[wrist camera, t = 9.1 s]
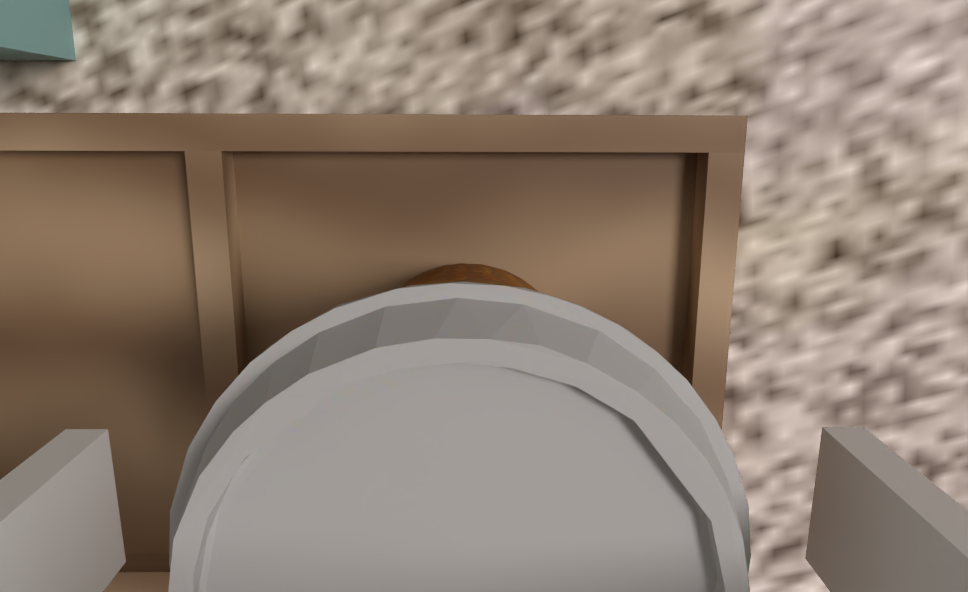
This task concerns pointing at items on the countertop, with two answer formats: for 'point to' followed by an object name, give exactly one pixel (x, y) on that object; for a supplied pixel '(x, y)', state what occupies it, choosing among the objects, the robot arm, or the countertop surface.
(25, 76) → the countertop surface
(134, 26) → the countertop surface
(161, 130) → the divided compartment tray
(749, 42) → the countertop surface
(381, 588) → the disposable coffee cup
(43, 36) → the teal rectangular block
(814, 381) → the countertop surface
